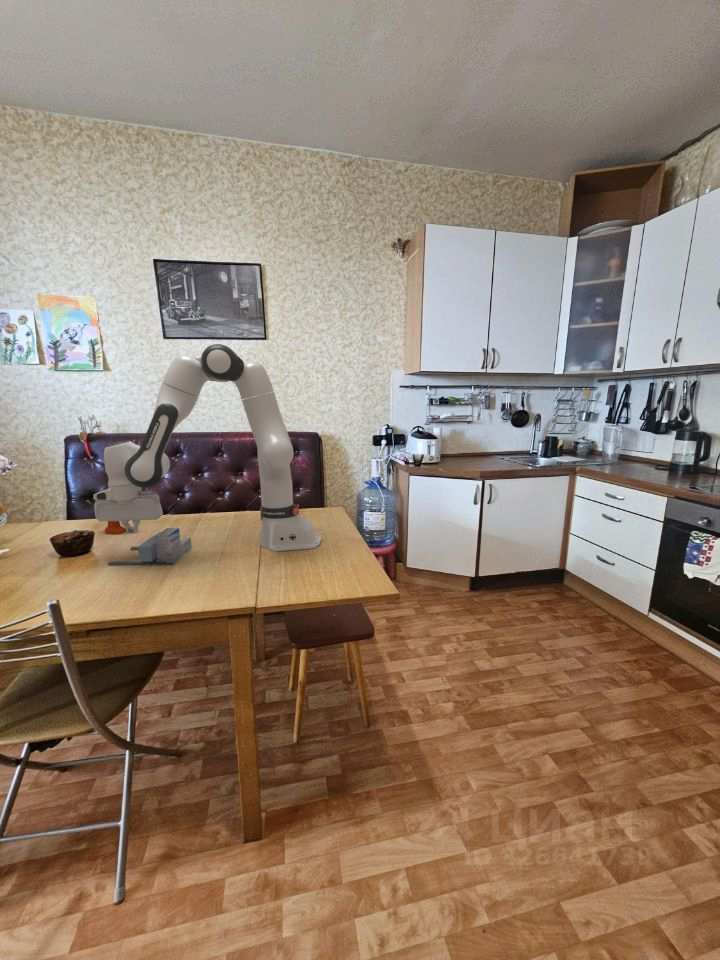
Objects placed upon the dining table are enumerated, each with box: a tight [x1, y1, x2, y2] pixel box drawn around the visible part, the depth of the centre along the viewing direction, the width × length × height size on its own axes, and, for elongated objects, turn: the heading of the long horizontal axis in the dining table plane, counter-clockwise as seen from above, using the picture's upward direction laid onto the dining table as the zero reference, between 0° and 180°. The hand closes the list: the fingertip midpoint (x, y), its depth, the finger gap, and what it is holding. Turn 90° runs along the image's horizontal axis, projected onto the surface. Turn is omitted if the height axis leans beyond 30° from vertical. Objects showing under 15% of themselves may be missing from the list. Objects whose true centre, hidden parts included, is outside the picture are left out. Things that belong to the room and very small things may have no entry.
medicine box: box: [155, 527, 181, 561], centre depth 128 cm, size 8×4×9 cm, turn 0°
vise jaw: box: [137, 531, 162, 562], centre depth 128 cm, size 4×14×5 cm, turn 0°
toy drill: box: [104, 521, 127, 535], centre depth 151 cm, size 5×19×15 cm, turn 87°
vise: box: [107, 537, 192, 566], centre depth 128 cm, size 20×14×4 cm
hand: (132, 532), depth 127 cm, fingers closed
